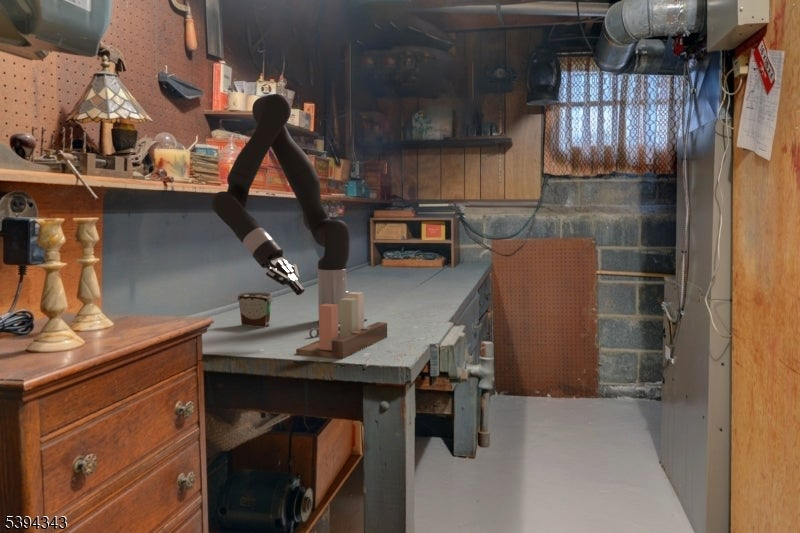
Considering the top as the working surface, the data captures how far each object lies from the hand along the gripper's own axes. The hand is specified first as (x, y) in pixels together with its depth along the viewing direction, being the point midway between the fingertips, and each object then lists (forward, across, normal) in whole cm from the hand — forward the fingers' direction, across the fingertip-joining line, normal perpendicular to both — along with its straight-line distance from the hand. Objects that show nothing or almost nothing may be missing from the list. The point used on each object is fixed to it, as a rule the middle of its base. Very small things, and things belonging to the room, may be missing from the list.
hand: (301, 292), depth 165 cm
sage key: (+19, 0, -2) cm, 19 cm away
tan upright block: (+16, +11, +1) cm, 20 cm away
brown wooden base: (+19, 0, 0) cm, 19 cm away
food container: (-8, +16, +28) cm, 33 cm away
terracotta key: (+19, -11, -2) cm, 22 cm away
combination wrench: (+14, +13, +6) cm, 20 cm away
